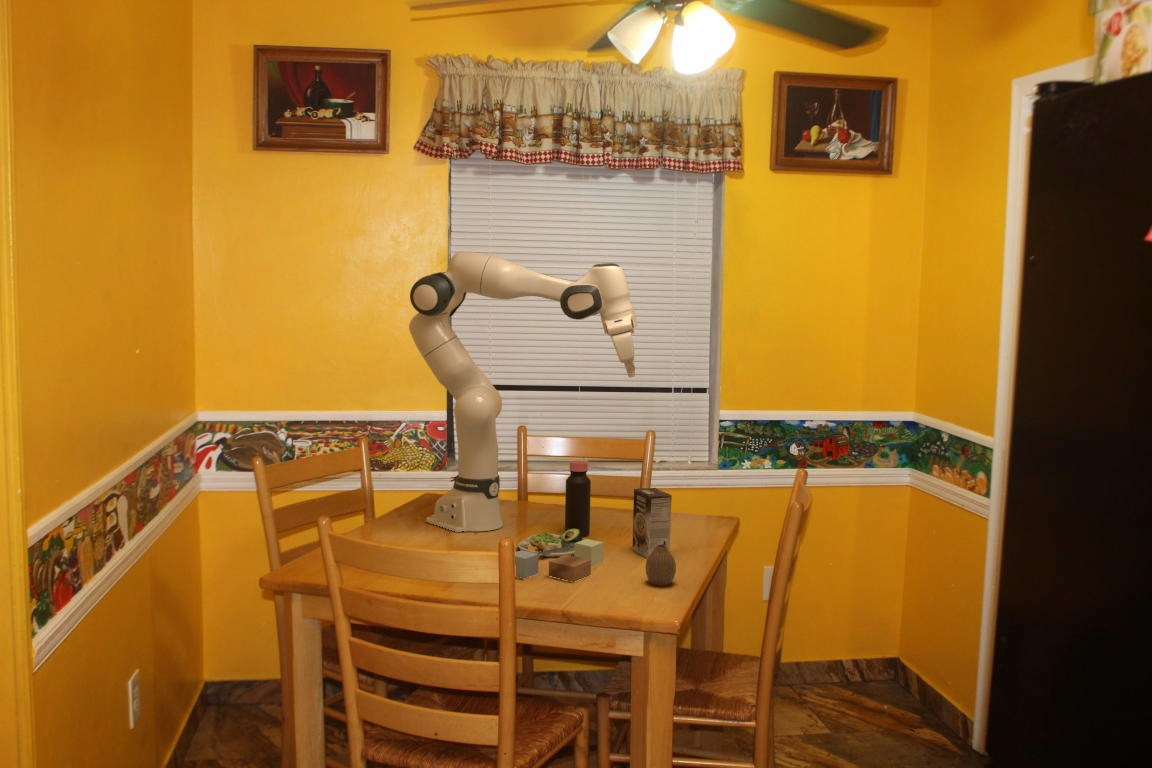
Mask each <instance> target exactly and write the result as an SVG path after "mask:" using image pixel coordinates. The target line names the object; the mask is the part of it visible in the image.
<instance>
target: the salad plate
mask: <svg viewBox="0 0 1152 768" xmlns="http://www.w3.org/2000/svg"><path fill="white" fill-rule="evenodd" d="M585 539H586V538H584V537H582V534H581V531H580V530H579V529H569V530H567V531H565V530H564V531H563V533H562V534H561V535H560V534H553V533H548V532H544V531H543V532H540V533H537V534H533V535H530V536H529V537H528V536H527V538H525V539H523V540H522V541H520V542H518V543H517V548H518V549H519V551H521V550H523V551H528V552H532V553H536V554H539V555H540V556H539V557H543V556H546V557H545V558H558V557H557V556H564V555H572V556H574V554H575V543H577V542H579V541H582V540H585ZM529 545H531V546H534V545H535V547H536V546H538V547H537V548H539V549H540V550H541V552H540V551H536V550H533V549H532V550H530V549H529V550H528V546H529ZM554 556H556V557H554Z"/></svg>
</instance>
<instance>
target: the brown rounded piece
mask: <svg viewBox="0 0 1152 768" xmlns="http://www.w3.org/2000/svg"><path fill="white" fill-rule="evenodd" d="M676 572H677V565H676V560H675V558H674V556H673V554H672V553H671V552H670V549H669V550H668V548H667V546H666V545H661V544H660V545H656V547H655V549H654V550H653V552H652V553H651V554H650V555H649V557H648V559H646V563H645V574H646V578H647V579H648V581H649V582H650V583H651V584H652V585H653V586H658V587H666V586H668V585H670V584H671V583H672V582H673V581H674V578H675V577H676Z"/></svg>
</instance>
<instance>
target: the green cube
mask: <svg viewBox="0 0 1152 768" xmlns="http://www.w3.org/2000/svg"><path fill="white" fill-rule="evenodd" d="M584 539H585V540H582V541H579V542H577V543H575V554H574V555H573V556H575V557H579V558H584V559H589V560H591V566H592V567H594V566H596V565H595V564H597V565H598V563H599V564H601V563H600V562H602V563H604V542H603V541H597V540H593V539H589V538H584ZM593 565H594V566H593Z"/></svg>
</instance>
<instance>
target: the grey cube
mask: <svg viewBox="0 0 1152 768" xmlns="http://www.w3.org/2000/svg"><path fill="white" fill-rule="evenodd" d="M514 553H515V565H516V577H515V578H516V579H520V577H521V578H527V577H529V576H532V575H535V574H537V573H538V574H539V557H540V556H539V554H536V553H532V552H528V551H523V550H519V551H516V552H514ZM517 577H519V578H517Z"/></svg>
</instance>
